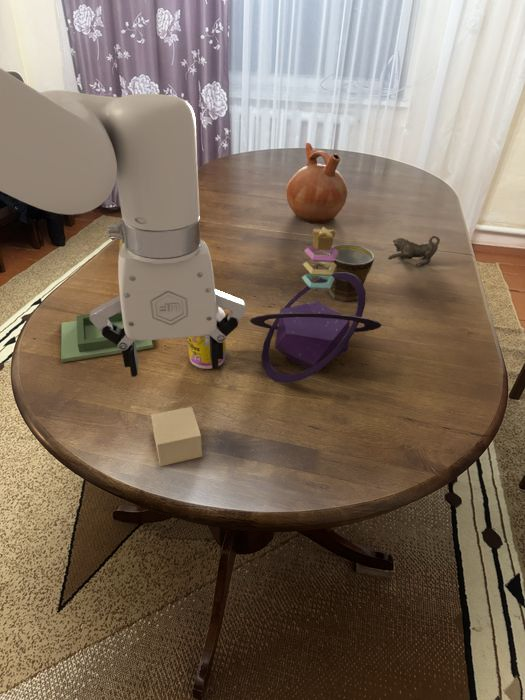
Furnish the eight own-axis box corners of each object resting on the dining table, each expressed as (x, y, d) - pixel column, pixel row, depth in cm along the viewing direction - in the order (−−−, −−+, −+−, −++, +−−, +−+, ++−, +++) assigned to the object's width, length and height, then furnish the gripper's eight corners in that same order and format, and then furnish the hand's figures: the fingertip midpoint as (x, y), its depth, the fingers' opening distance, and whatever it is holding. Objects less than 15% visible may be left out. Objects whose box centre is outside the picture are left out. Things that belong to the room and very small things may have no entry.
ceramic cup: (354, 281, 111) (361, 242, 105) (374, 302, 104) (383, 261, 98) (303, 287, 108) (308, 247, 102) (321, 310, 100) (326, 268, 94)
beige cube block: (160, 466, 65) (157, 444, 63) (154, 435, 70) (150, 414, 67) (202, 456, 67) (201, 435, 64) (193, 427, 72) (192, 406, 69)
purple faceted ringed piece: (359, 328, 95) (382, 209, 80) (379, 399, 78) (415, 264, 63) (249, 325, 95) (252, 204, 80) (247, 395, 78) (250, 258, 63)
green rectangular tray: (62, 362, 83) (58, 350, 81) (62, 326, 92) (59, 314, 90) (153, 348, 87) (151, 336, 86) (144, 314, 96) (143, 303, 95)
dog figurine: (431, 259, 123) (438, 232, 119) (434, 268, 119) (442, 241, 114) (385, 254, 124) (391, 227, 120) (386, 264, 120) (393, 236, 115)
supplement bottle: (184, 352, 86) (180, 292, 79) (218, 345, 89) (216, 285, 81) (196, 374, 82) (192, 312, 74) (231, 365, 84) (231, 304, 76)
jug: (273, 210, 147) (277, 142, 135) (321, 202, 154) (328, 138, 142) (304, 231, 134) (312, 159, 122) (354, 222, 142) (366, 153, 129)
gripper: (67, 254, 43) (99, 393, 53) (253, 246, 46) (249, 379, 56) (77, 223, 48) (104, 353, 59) (241, 217, 51) (240, 342, 62)
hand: (175, 366), depth 57 cm, fingers open, 9 cm apart
